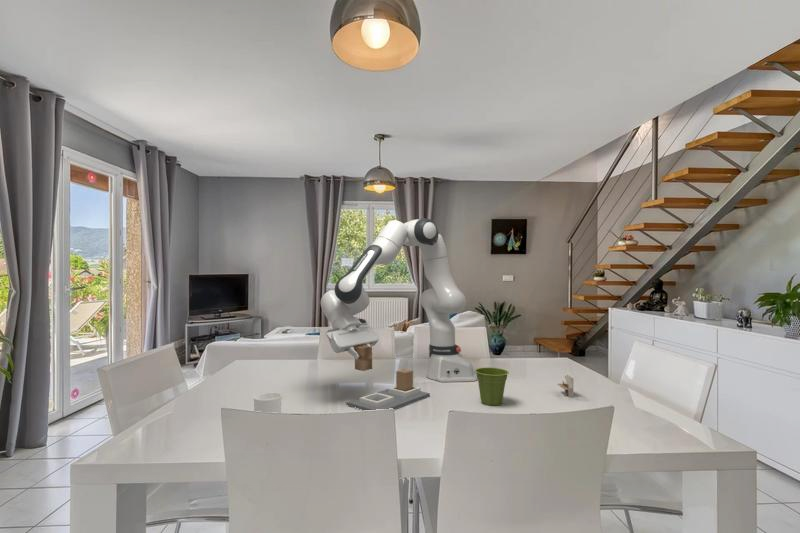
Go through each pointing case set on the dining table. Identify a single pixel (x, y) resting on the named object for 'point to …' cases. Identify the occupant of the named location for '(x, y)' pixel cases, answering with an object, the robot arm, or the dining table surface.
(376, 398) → the baseplate
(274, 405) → the white cup
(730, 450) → the dining table surface
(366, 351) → the walnut block
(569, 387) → the architectural model
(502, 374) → the plant pot
